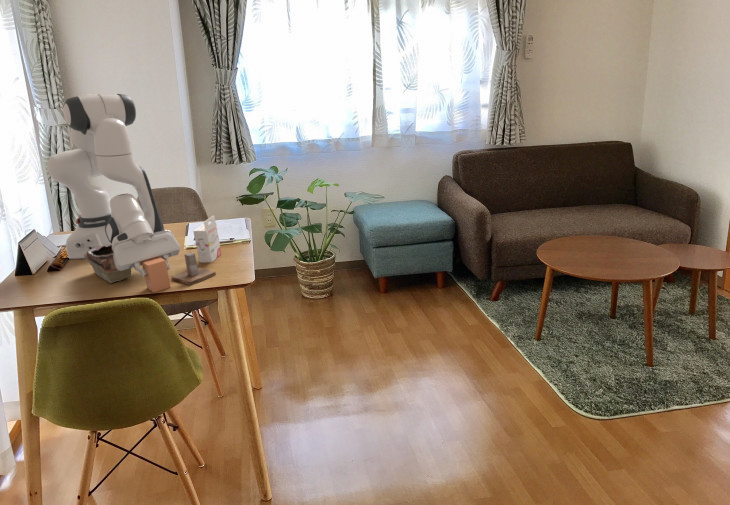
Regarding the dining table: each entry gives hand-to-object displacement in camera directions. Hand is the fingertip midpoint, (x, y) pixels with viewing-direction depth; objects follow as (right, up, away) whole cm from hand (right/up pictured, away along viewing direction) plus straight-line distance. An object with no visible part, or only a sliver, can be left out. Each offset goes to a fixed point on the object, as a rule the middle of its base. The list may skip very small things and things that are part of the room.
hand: (156, 272), depth 195 cm
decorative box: (-22, -2, +16) cm, 27 cm away
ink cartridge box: (+11, +4, +25) cm, 27 cm away
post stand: (+9, -2, +9) cm, 13 cm away
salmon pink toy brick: (0, -5, +2) cm, 5 cm away
